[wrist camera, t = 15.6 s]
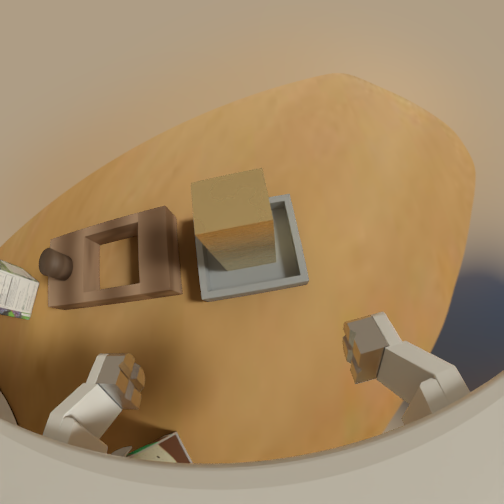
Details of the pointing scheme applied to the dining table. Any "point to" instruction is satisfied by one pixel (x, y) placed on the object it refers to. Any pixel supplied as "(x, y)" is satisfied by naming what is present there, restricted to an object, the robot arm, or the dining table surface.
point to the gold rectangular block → (235, 219)
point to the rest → (264, 276)
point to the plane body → (87, 261)
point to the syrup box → (16, 291)
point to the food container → (159, 450)
